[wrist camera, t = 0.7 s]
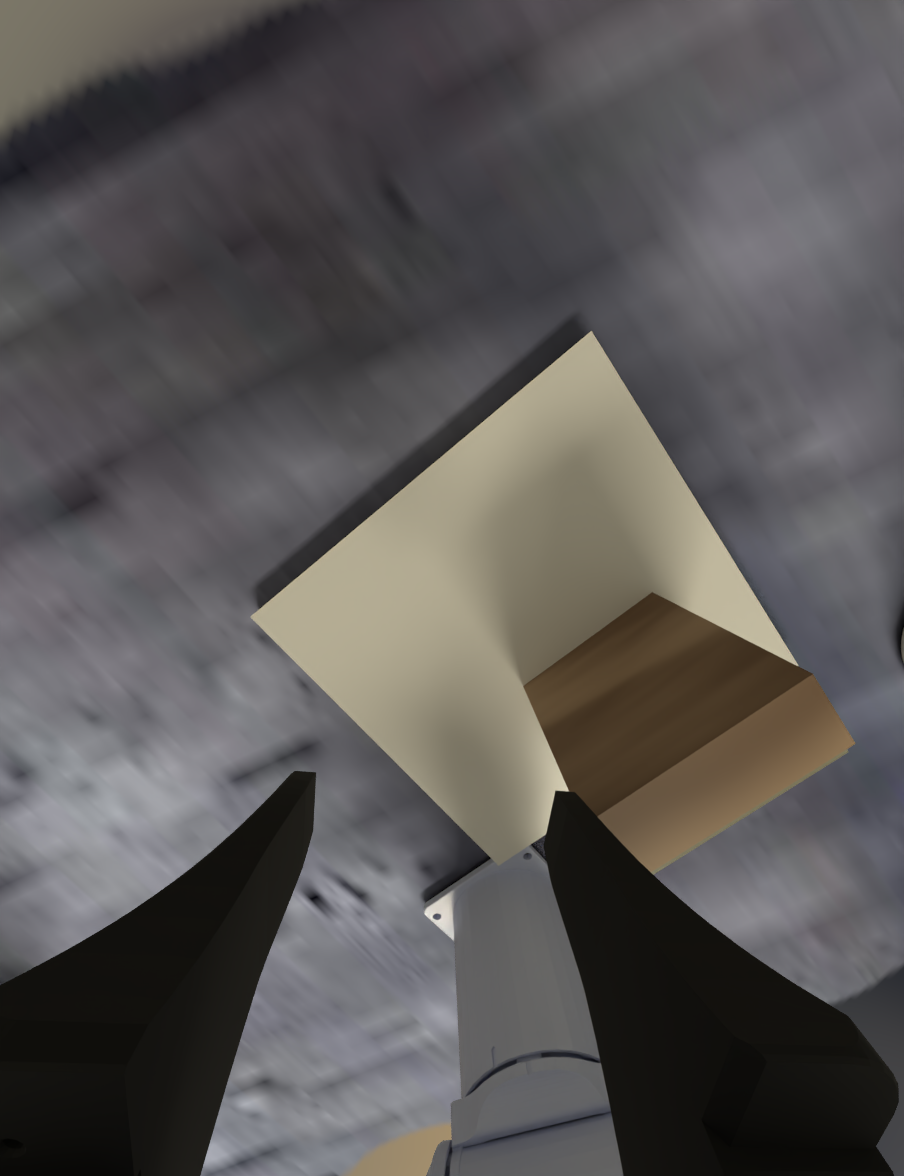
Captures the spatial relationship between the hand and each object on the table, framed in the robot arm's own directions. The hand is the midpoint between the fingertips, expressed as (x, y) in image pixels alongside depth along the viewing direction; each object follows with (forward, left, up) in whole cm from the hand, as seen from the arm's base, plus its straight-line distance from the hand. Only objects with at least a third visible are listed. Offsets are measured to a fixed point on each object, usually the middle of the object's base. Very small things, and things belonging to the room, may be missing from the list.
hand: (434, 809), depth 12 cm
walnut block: (-5, -7, -9) cm, 13 cm away
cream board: (-2, -5, -10) cm, 11 cm away
